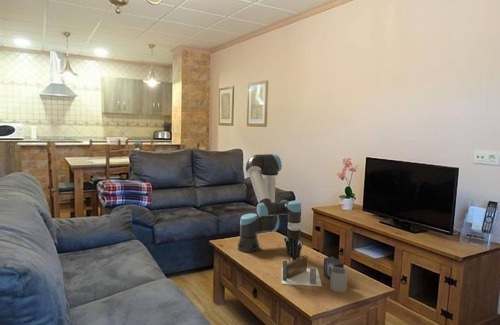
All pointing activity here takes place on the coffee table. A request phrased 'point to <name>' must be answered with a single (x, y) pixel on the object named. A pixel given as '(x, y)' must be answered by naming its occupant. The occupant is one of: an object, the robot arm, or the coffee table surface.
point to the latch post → (312, 275)
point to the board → (302, 279)
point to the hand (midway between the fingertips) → (292, 268)
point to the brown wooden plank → (297, 266)
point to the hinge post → (284, 271)
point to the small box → (331, 265)
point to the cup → (338, 279)
